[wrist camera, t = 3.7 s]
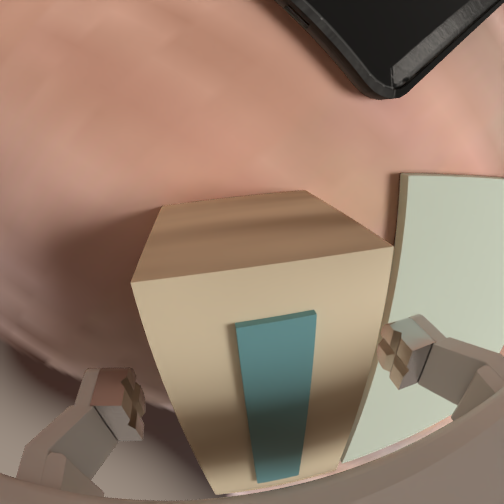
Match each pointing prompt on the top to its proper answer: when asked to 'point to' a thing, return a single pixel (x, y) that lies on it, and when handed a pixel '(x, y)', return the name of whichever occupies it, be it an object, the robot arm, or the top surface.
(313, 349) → the maple block
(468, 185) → the rubber mat
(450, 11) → the phone
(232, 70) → the top surface
